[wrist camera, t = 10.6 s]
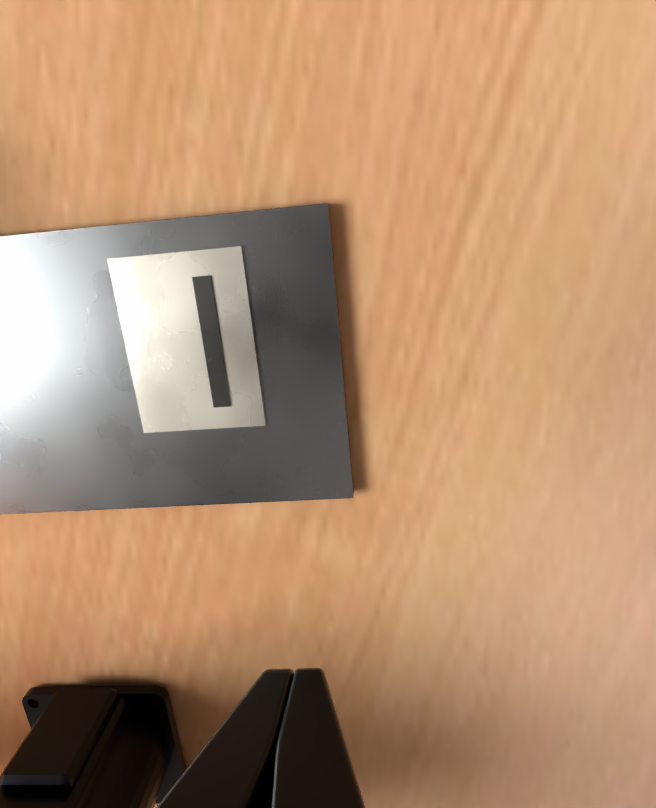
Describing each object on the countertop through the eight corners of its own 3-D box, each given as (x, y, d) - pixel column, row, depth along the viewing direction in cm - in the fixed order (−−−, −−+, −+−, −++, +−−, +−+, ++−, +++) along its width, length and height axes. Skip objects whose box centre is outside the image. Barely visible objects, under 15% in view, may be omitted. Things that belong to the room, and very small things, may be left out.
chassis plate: (353, 491, 20) (352, 500, 20) (-183, 516, 22) (-200, 525, 22) (328, 203, 17) (327, 203, 16) (-292, 266, 19) (-314, 268, 19)
